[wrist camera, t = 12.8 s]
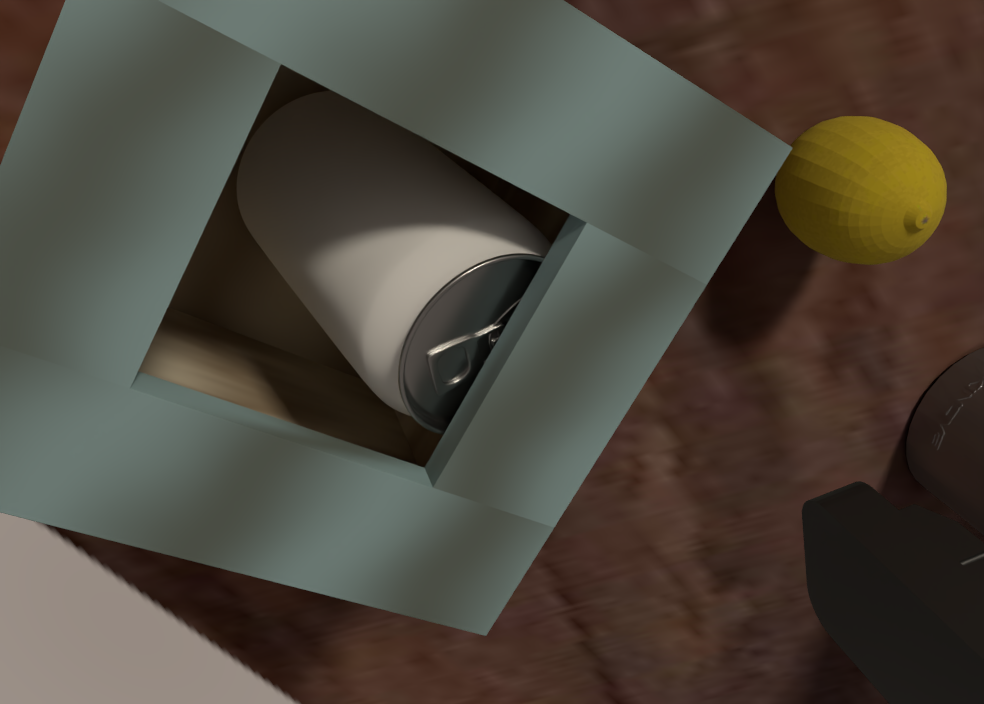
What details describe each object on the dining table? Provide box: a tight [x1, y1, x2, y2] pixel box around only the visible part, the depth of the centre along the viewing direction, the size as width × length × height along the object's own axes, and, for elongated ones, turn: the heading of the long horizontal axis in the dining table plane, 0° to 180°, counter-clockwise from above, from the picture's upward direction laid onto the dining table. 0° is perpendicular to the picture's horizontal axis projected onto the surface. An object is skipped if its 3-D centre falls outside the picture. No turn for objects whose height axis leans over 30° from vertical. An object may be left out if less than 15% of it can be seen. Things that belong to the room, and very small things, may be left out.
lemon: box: [775, 116, 947, 265], centre depth 37 cm, size 6×6×8 cm
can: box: [237, 91, 552, 435], centre depth 29 cm, size 6×6×12 cm
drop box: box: [0, 0, 792, 636], centre depth 28 cm, size 16×16×14 cm
